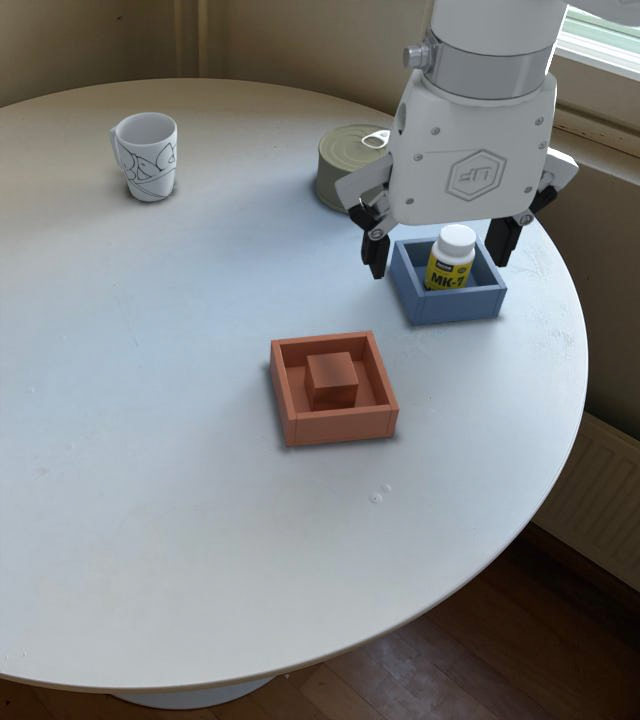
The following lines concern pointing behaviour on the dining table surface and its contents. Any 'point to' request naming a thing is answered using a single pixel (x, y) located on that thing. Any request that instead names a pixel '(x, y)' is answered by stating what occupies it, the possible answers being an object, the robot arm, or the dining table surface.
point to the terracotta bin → (361, 422)
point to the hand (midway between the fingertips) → (434, 262)
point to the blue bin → (451, 304)
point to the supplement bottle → (450, 259)
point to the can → (348, 158)
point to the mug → (146, 154)
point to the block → (330, 382)
